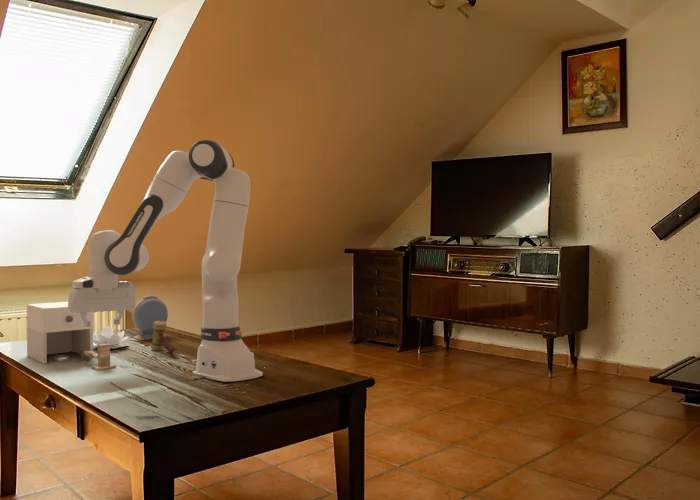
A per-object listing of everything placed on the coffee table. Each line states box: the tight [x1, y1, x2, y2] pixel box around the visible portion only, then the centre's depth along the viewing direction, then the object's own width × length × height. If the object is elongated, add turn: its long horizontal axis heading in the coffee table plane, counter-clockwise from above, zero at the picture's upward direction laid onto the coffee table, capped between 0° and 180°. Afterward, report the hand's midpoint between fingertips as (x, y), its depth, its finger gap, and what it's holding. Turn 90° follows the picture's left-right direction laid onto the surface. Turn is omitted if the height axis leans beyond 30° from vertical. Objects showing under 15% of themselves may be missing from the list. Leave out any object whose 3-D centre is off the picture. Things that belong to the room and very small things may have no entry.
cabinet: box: [26, 301, 94, 365], centre depth 219 cm, size 19×16×18 cm
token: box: [52, 354, 70, 362], centre depth 216 cm, size 5×5×1 cm
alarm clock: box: [131, 295, 169, 341], centre depth 260 cm, size 14×10×18 cm
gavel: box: [150, 321, 179, 357], centre depth 227 cm, size 21×5×10 cm, turn 36°
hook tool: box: [80, 344, 117, 371], centre depth 207 cm, size 19×6×8 cm, turn 42°
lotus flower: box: [93, 324, 130, 349], centre depth 236 cm, size 14×15×9 cm
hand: (102, 325), depth 201 cm, fingers open, 8 cm apart
